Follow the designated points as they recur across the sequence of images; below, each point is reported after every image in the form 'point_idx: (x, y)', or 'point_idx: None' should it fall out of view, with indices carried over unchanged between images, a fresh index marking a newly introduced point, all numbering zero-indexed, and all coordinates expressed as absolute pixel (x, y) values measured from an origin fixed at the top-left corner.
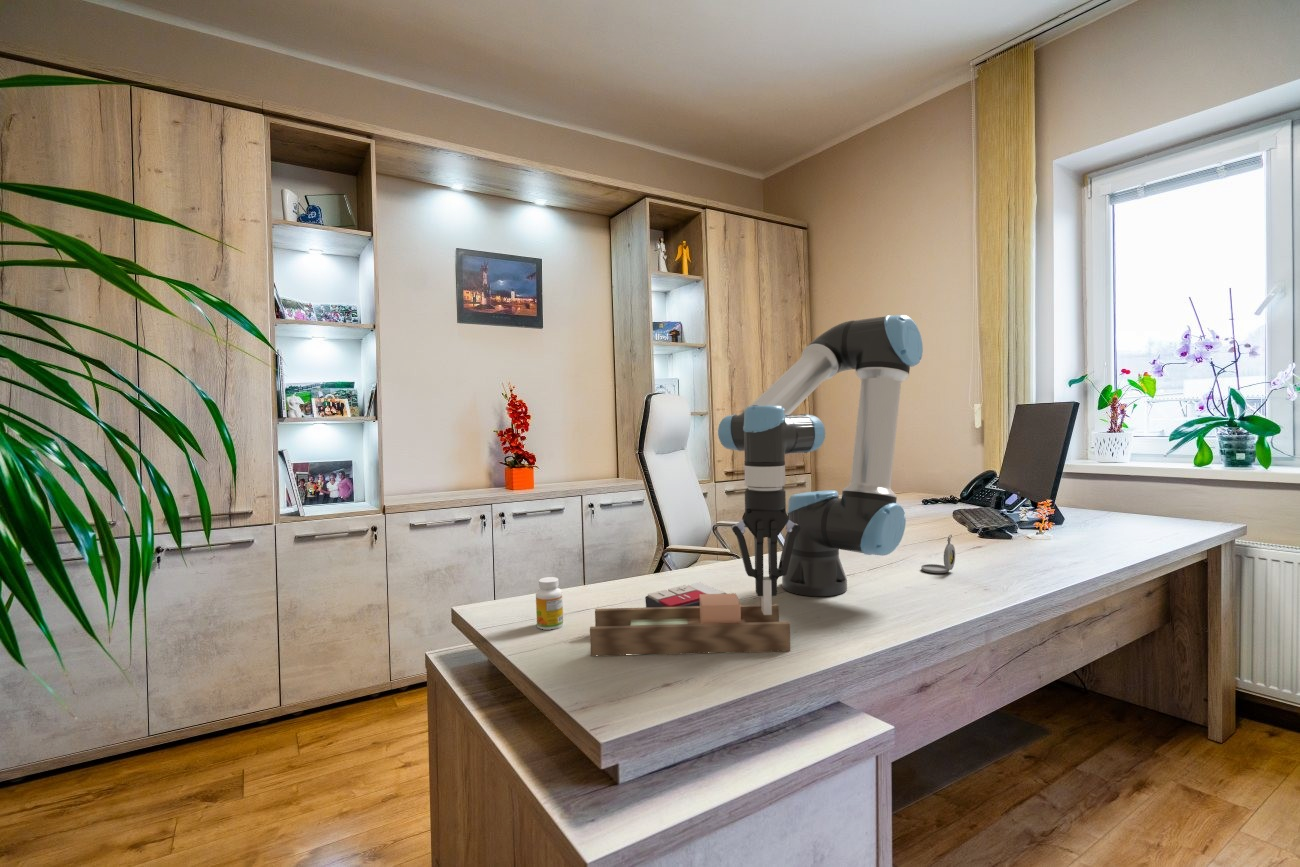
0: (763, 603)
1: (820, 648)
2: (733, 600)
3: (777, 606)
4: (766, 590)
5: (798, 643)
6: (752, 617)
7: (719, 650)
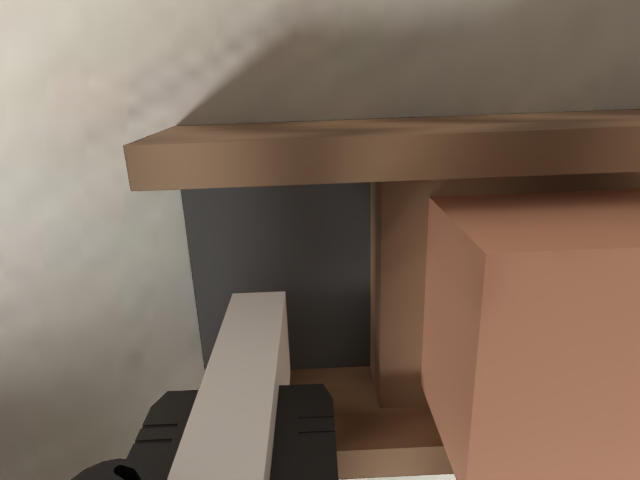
0: (281, 337)
1: (22, 158)
2: (517, 355)
3: None
4: (243, 399)
5: (128, 225)
6: None
7: (533, 114)
